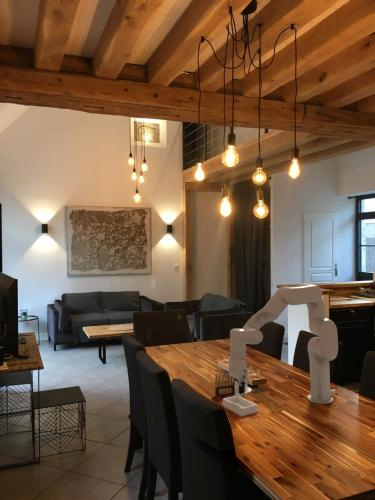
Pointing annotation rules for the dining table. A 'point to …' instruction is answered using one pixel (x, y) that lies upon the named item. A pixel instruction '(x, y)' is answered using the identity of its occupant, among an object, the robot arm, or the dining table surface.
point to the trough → (240, 405)
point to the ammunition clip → (223, 385)
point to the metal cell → (237, 388)
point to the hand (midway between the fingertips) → (238, 391)
